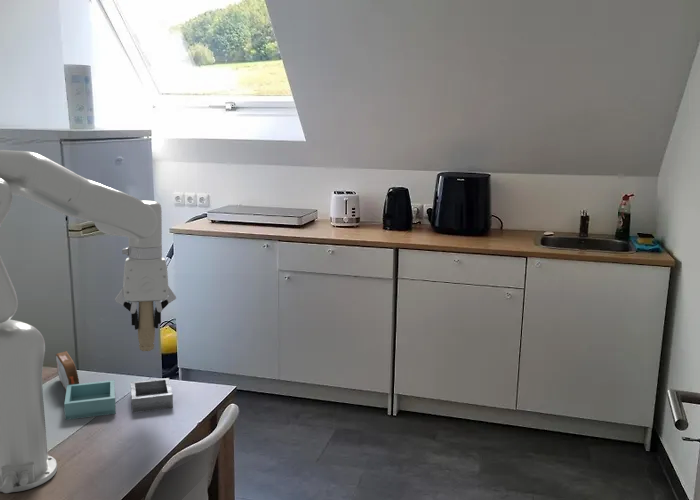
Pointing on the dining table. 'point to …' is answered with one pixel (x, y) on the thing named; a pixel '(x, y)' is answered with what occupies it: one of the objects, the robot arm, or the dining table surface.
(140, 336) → the handle
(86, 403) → the tray
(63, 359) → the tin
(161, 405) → the collar
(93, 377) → the dining table surface
